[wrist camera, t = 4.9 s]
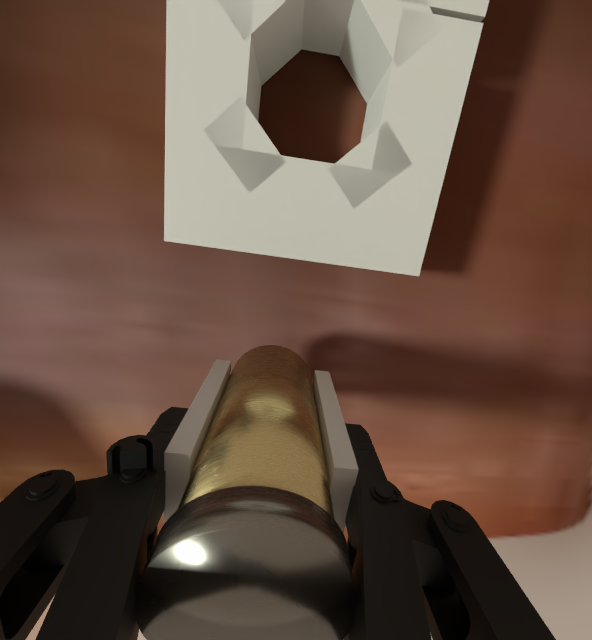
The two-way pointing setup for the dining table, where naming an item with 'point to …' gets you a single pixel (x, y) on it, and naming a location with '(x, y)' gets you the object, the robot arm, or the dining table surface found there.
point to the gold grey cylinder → (253, 522)
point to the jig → (301, 174)
